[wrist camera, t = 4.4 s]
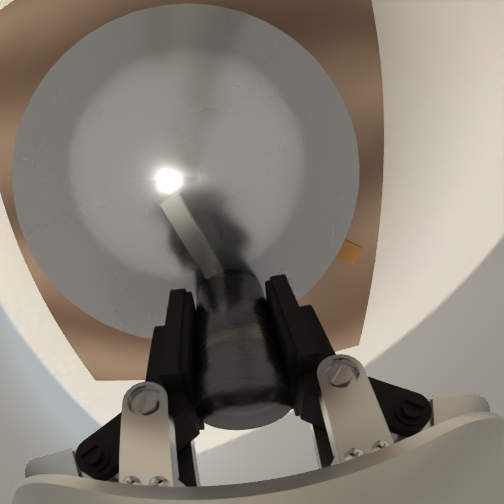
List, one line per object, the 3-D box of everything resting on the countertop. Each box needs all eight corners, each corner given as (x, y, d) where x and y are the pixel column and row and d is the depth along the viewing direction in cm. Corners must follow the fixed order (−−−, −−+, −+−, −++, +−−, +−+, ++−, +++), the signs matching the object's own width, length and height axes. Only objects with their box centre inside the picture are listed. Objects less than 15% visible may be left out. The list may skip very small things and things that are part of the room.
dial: (-11, 143, 7) (-113, 193, 2) (266, -30, 6) (324, -127, 1) (137, 353, 14) (122, 458, 8) (373, 253, 12) (453, 345, 7)
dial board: (7, 25, 6) (-16, 20, 4) (338, -43, 7) (357, -58, 5) (101, 358, 17) (95, 381, 15) (347, 324, 18) (359, 346, 16)
